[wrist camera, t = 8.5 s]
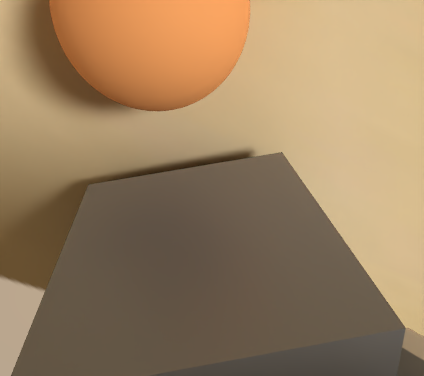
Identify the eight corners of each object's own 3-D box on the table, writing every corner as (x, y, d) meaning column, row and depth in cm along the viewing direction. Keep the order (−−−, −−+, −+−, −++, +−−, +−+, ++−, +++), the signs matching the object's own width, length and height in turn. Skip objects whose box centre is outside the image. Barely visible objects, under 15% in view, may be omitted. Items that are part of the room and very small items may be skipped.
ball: (51, -75, 10) (-32, -123, 6) (224, -99, 11) (264, -163, 6) (100, 98, 13) (65, 153, 8) (239, 76, 13) (277, 118, 9)
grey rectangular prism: (88, 184, 13) (0, 402, 6) (281, 152, 13) (405, 328, 6) (134, 320, 16) (111, 557, 10) (287, 292, 17) (372, 505, 10)
